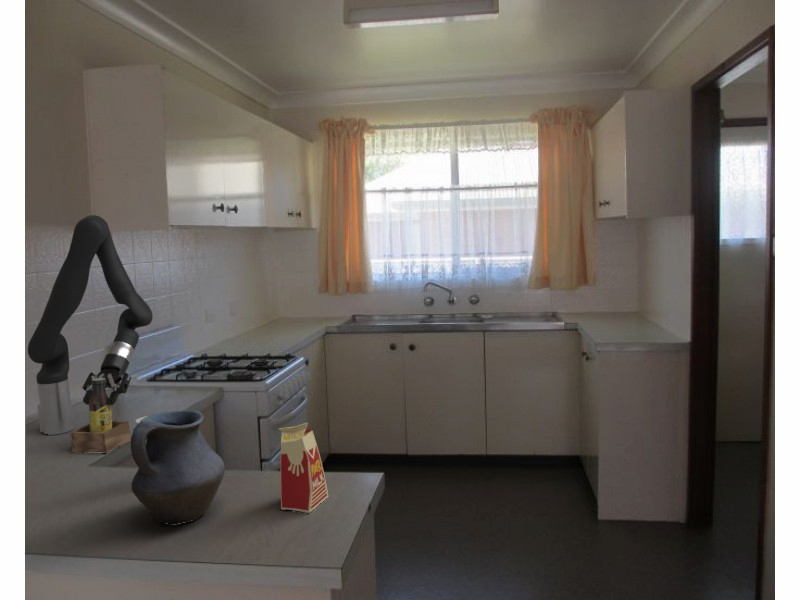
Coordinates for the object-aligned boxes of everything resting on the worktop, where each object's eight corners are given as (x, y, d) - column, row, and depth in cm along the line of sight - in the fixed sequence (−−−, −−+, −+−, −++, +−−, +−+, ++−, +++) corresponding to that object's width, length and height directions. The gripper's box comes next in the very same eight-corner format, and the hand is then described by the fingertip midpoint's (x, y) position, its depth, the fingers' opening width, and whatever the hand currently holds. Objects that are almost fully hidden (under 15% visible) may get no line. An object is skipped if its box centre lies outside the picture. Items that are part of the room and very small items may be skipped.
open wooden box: (71, 452, 198) (68, 432, 197) (98, 438, 210) (96, 419, 209) (106, 454, 195) (104, 434, 194) (132, 439, 207) (130, 420, 206)
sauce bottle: (104, 446, 198) (99, 382, 196) (86, 445, 200) (81, 381, 197) (117, 438, 205) (113, 376, 202) (100, 437, 206) (95, 376, 204)
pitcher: (246, 503, 156) (238, 402, 153) (182, 546, 137) (171, 431, 133) (179, 491, 165) (170, 395, 162) (110, 531, 145) (98, 423, 142)
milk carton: (328, 497, 157) (323, 417, 155) (311, 514, 149) (305, 429, 146) (294, 493, 160) (289, 415, 158) (276, 510, 152) (269, 427, 149)
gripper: (92, 352, 209) (70, 397, 199) (131, 352, 206) (111, 398, 196) (105, 364, 215) (84, 409, 205) (143, 365, 211) (124, 410, 202)
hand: (97, 403), depth 201 cm, fingers open, 8 cm apart
